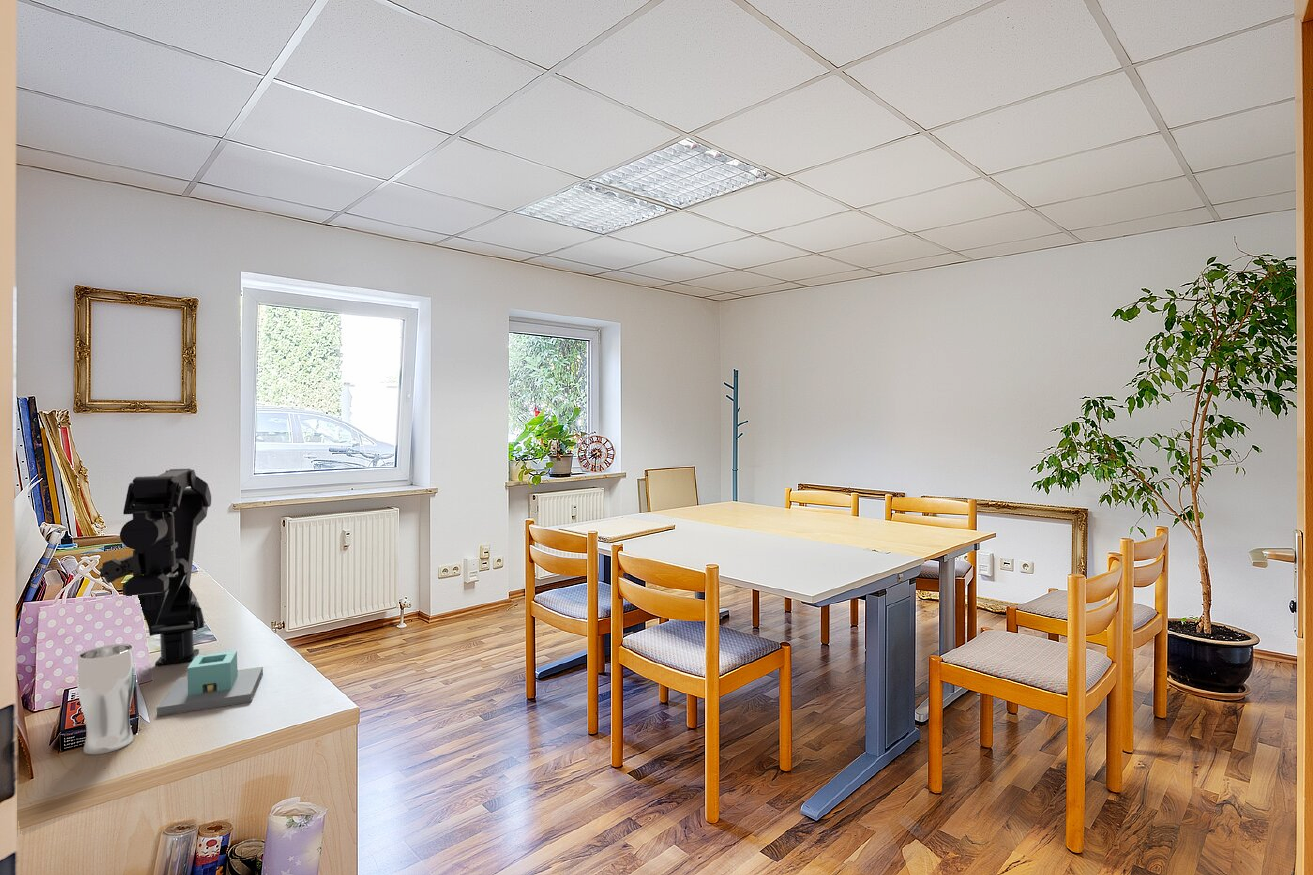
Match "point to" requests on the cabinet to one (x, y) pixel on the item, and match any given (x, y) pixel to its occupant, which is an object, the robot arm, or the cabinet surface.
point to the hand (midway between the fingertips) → (159, 619)
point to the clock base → (210, 694)
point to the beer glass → (106, 696)
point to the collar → (212, 671)
